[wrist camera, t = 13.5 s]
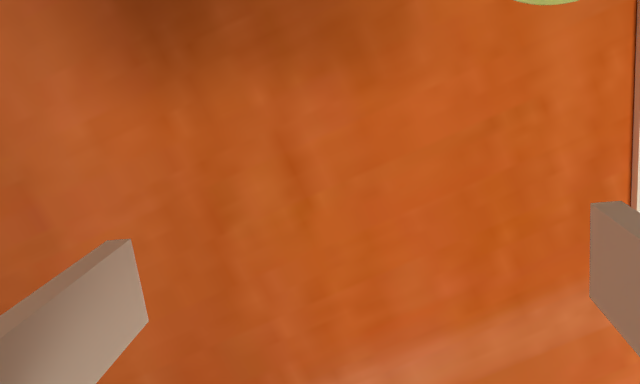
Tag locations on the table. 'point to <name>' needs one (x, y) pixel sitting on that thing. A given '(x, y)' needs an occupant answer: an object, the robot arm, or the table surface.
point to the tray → (636, 125)
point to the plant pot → (546, 2)
